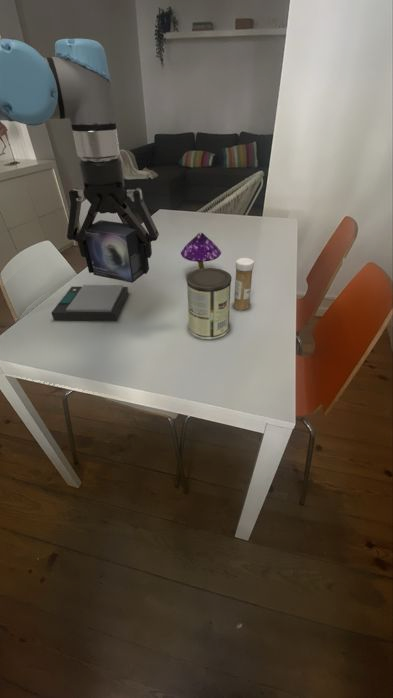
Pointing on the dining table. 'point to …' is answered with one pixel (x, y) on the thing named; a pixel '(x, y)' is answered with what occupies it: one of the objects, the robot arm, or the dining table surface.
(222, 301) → the coffee can
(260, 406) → the dining table surface
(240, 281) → the sprinkles bottle
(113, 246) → the small box
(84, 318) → the scale
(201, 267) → the decorative mushroom
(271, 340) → the dining table surface
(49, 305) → the dining table surface
